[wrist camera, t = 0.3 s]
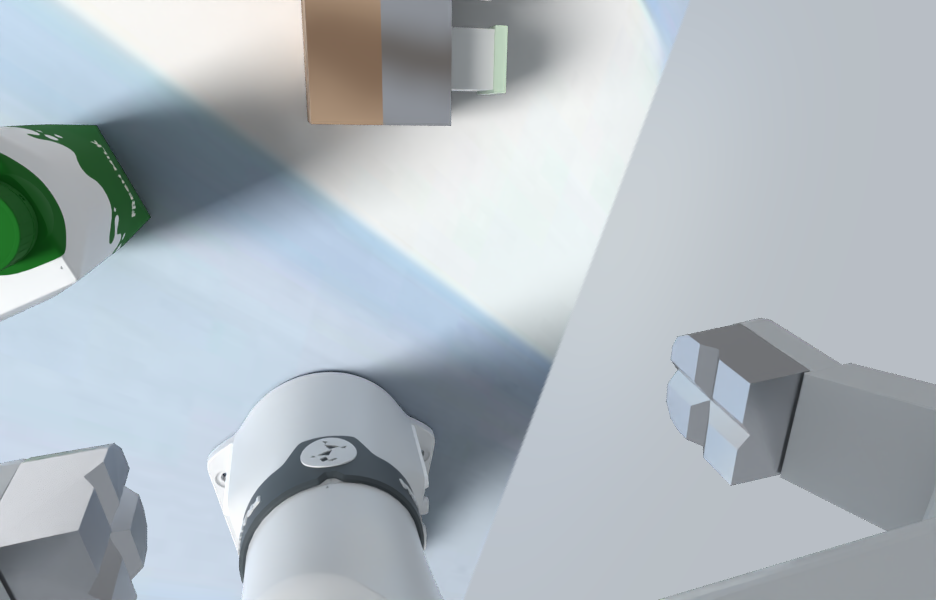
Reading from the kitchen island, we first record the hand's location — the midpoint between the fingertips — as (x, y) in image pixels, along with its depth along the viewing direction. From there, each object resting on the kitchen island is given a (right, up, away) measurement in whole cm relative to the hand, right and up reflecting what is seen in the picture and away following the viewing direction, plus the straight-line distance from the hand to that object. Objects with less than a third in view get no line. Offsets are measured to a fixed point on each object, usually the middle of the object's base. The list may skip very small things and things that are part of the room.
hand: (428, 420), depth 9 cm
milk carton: (-27, +9, +34) cm, 45 cm away
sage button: (0, +18, +33) cm, 38 cm away
